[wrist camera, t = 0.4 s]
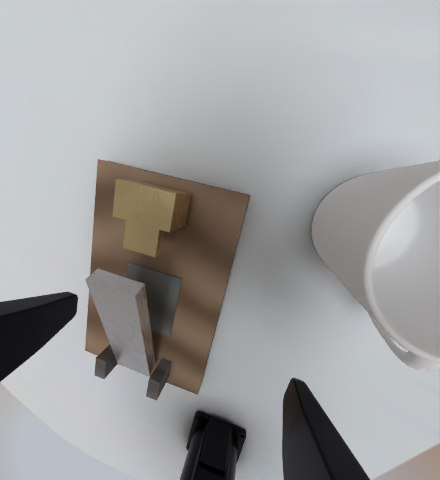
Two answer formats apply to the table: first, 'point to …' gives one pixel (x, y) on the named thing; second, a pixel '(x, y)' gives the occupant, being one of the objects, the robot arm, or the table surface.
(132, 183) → the gold t-shaped block
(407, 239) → the mug
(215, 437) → the robot arm
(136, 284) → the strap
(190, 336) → the base
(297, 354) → the table surface
